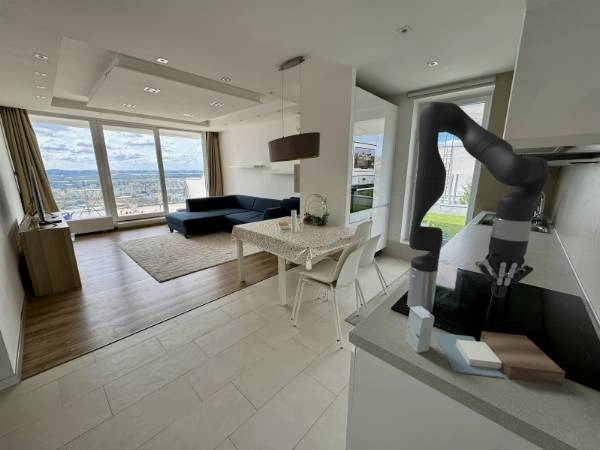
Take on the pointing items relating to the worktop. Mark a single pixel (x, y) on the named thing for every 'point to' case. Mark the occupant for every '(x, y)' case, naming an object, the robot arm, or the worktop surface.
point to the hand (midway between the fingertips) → (497, 295)
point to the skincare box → (419, 329)
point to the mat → (457, 359)
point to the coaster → (478, 354)
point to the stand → (523, 359)
